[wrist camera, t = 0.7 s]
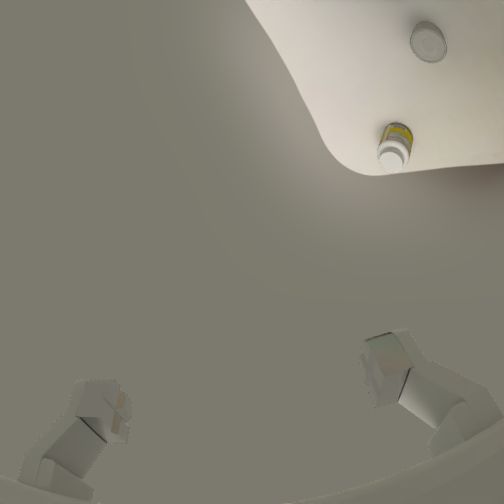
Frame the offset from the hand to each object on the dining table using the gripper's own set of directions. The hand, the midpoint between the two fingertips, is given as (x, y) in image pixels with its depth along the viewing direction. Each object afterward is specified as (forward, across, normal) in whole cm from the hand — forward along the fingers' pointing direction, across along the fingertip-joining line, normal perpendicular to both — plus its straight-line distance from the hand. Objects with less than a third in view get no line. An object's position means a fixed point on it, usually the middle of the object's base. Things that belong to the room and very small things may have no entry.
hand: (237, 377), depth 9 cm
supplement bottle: (+44, -31, +2) cm, 54 cm away
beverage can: (+35, -34, -16) cm, 51 cm away
